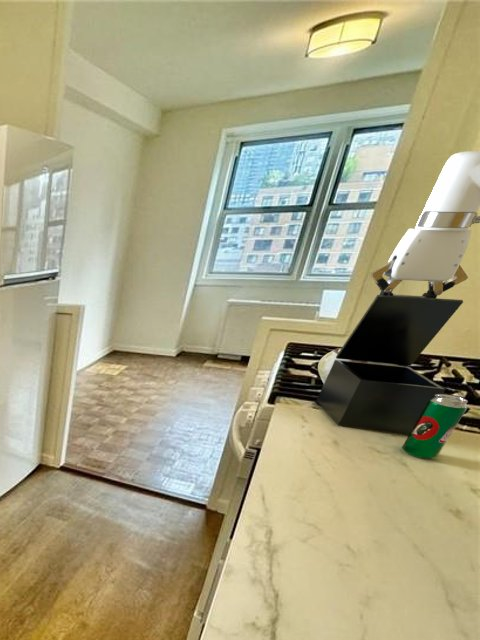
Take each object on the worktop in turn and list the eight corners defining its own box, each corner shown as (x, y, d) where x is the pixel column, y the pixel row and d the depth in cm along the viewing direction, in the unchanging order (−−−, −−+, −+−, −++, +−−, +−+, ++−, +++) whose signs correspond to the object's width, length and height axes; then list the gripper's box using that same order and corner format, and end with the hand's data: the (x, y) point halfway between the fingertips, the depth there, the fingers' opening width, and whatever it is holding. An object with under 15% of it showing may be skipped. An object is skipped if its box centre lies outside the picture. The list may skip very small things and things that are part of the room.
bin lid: (463, 301, 98) (456, 288, 101) (378, 296, 103) (373, 284, 106) (410, 365, 110) (405, 352, 113) (336, 358, 115) (332, 346, 118)
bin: (417, 436, 103) (445, 389, 98) (338, 425, 108) (360, 379, 103) (385, 409, 116) (409, 366, 111) (315, 401, 121) (335, 359, 116)
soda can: (436, 462, 93) (472, 405, 88) (400, 454, 96) (433, 398, 91) (434, 453, 97) (469, 397, 91) (400, 445, 100) (431, 391, 94)
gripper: (490, 221, 98) (442, 311, 107) (381, 220, 104) (344, 305, 113) (515, 223, 92) (461, 318, 101) (397, 222, 98) (356, 311, 107)
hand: (399, 310), depth 107 cm, fingers closed on bin lid, 6 cm apart
